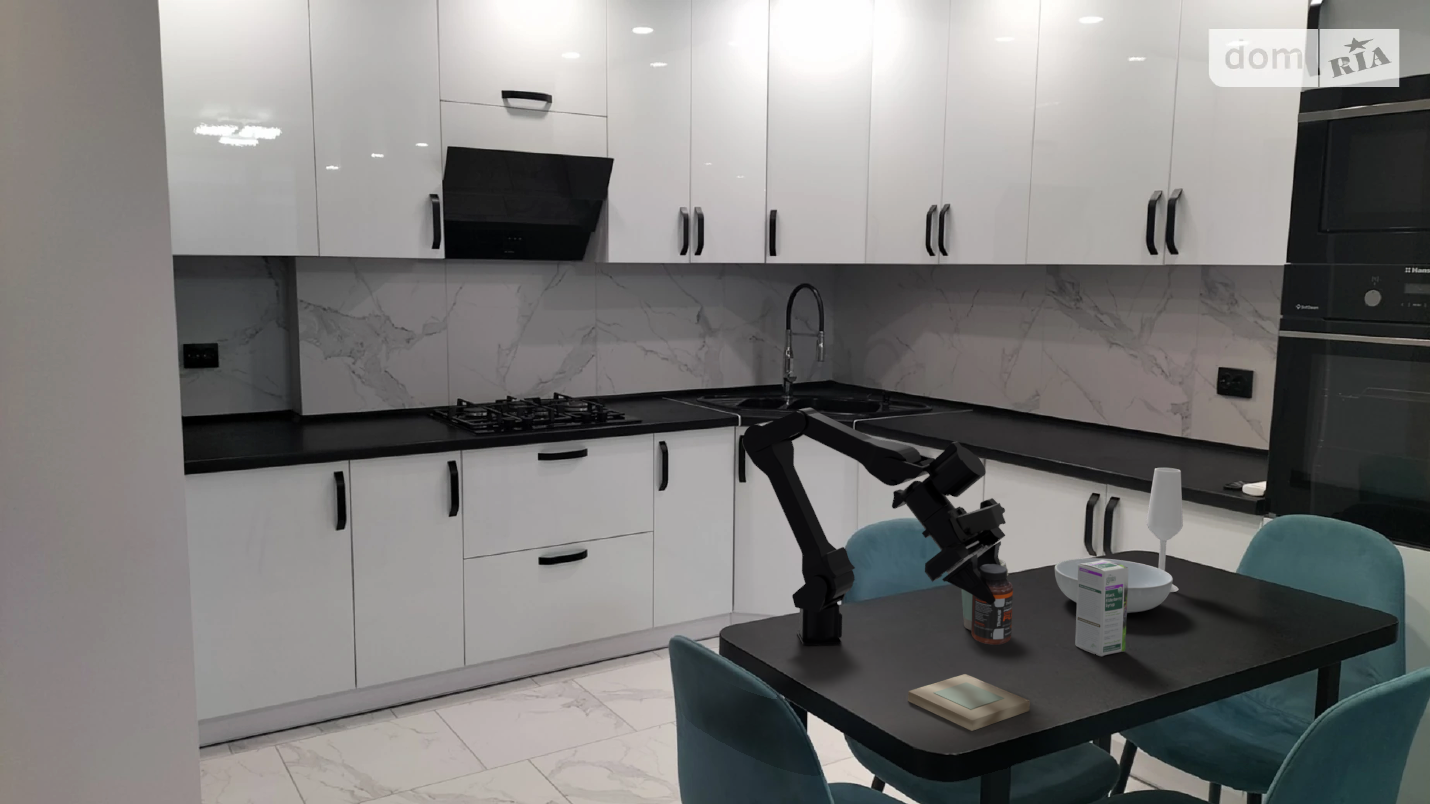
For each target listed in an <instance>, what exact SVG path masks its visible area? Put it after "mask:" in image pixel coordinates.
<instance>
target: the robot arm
mask: <svg viewBox="0 0 1430 804" xmlns="http://www.w3.org/2000/svg"><path fill="white" fill-rule="evenodd" d="M802 436H805V437H807V438H809V439H811V440H813V441H816V442H818V443H820V444H821V445H824V446H826V447H828V448H830V449H832V450H833V451H836V452H837V453H838V452H839V453H840V454H842V455H844V456H847V457H848V458H850V459H853V460H855V461H857V462H858V463H859V464H861V465H862V466H863V467H864V470H866V471H867V472H868V473H869V474H870V475H872V476H873V477H874V478H875V479H876V480H878V481H880V482H881V483H882V484H884V485H886V486H889V487H895V486H899V485H902V484H905V483H907V482H910V481H912V482H911V483H910V484H909V485H907V487H905V488H904V489H896V490H894V491H893V492H892V493H893V494H892V495H893V499H892V502H891V503H892V504H891V508H892V509H894V510H895V509H898V508H900V507H903V506H905V505H906V506H907V508H908V509H909V510H910V512H911V513H912V514H913V515H914V517H915V518H916V519H917V521H918V522H919V524H921V526H922V528H924V530H923V531H922V532H921V534H922V536H923V537H924V538H925V539H927V538H929V537H930V538H931V539H932V540H933V541H934V544H936V546H937V547H938V548H939V549H940V551H939V552H937V553H936V554H935V555H934V556H933V557H932V558H930V559H929V560H927V562H925V563H924V573H925V574H926V575H927V577H928V578H929V579H930V581H931V582H932V583H933V582H935V581H936V580H938V579H940V578H941V577H943V575H944V574H945V573H946V574H947V575H946V576H944V577H943V578H942V579H941V581H943V582H944V583H945V582H946V583H949V584H951V585H953V586H955V587H957V588H959V589H960V590H961V589H963V590H965V591H967V592H969V593H970V594H972V595H974V596H976V597H977V598H979V599H981V600H983V601H984V602H986V603H988V604H992V603H994V602H995V601H996V599H995V597H994V596H993V594H992V592H991V590H990V589H989V587H988V585H987V584H986V582H985V580H984V579H983V577H982V576H981V574H980V567H981V566H982V565H985V564H996V565H1001V564H1000V561H999V559H1000V558H999V551H1000V547H1001V546H1002V541H1000V540H1002V539H1003V538H1005V536H1006V534H1005V533H1004V531H1003V530H1002V529H1001V527H1000V526H1001V525H1004V524H1005V525H1006V520H1005V517H1004V513H1005V512H1006V509H1005V507H1003V506H1002V505H1001V503H1000V502H998V501H996V499H995V498H993V497H991V498H989V499H986V500H983V501H981V502H980V504H979V508H978V509H976V510H972V511H968V512H967V511H966V510H965V508H964V507H961V506H957V507H955V506H954V504H953V503H952V502H951V501H950V499H949V498H948V496H951V497H954V498H958V497H960V496H961V495H963V493H965V492H966V491H967V490H968V489H969V488H971V487H972V486H974V485H975V483H977V482H978V481H979V480H981V479H982V478H983V477H984V476H985V475H986V473H987V471H986V468H985V465H984V463H983V462H982V459H980V457H979V456H978V455H977V454H974V453H973V452H972V451H971V450H969V449H968V448H966V447H964V446H963V445H961V444H960V442H959V441H953V442H950V444H948V445H947V446H946V447H945V448H944V450H943V451H942V452H940V454H939V455H938V456H936V457H935V458H933V457H931V456H927V455H924V454H921V453H920V452H919V450H918V449H917V448H915V447H914V446H911V445H907V444H904V443H900V442H896V441H891V440H883V439H878V438H874V437H871V436H870V435H867V434H866V433H863V432H861V431H859V430H857V429H854V428H852V427H850V426H848V425H846V424H844V423H841V422H839V421H837V420H835V419H832V418H830V417H828V416H827V415H825V414H822V413H820V412H818V411H817V410H816V409H814V408H812V407H805V408H801V409H795V410H794V411H792V412H791V413H789V414H787V415H785V416H782V417H780V418H778V419H775V420H771V421H767V422H766V421H765V422H760V423H755V424H751V425H750V426H748V427H747V428H746V430H745V431H744V433H743V438H742V439H741V441H742V446H743V449H744V451H745V453H746V454H747V455H748V458H749V459H750V460H751V462H752V464H753V465H754V466H755V467H756V468H758V469H759V471H761V472H762V473H763V474H764V475H765V476H766V477H767V478H768V480H769V482H770V485H771V486H772V489H773V492H774V494H775V496H776V498H777V501H778V503H779V506H780V507H781V509H782V512H783V514H784V516H785V518H786V520H787V522H788V525H789V526H790V527H789V528H790V530H791V531H792V534H793V536H794V538H795V540H796V543H797V545H798V547H799V549H800V551H801V573H802V577H803V578H802V579H803V580H804V584H803V585H802V586H801V587H800V588H799V589H797V591H795V592H793V594H792V595H791V597H792V600H793V605H794V607H795V608H797V609H799V617H798V618H799V620H798V621H799V623H798V624H799V626H798V627H799V628H798V629H797V630H796V634H797V636H798V637H799V640H800V641H801V644H802V645H803V646H823V645H824V646H825V645H826V646H828V645H841V644H842V640H841V638H842V636H843V635H842V634H843V613H842V612H841V611H840V605H839V603H838V602H842V601H844V599H845V596H846V594H847V593H848V592H849V591H850V590H851V589H852V587H853V585H854V582H855V580H856V579H855V574H854V573H855V572H854V571H853V570H855V569H856V567H855V565H853V563H852V562H851V561H850V557H849V556H848V551H847V549H846V548H845V547H844V546H842V547H839V548H836V547H835V546H834V545H832V544H831V543H830V542H829V540H828V538H827V536H826V533H825V531H824V529H823V528H822V524H821V522H820V521H819V519H818V516H817V514H816V512H815V510H814V507H813V505H812V503H811V501H810V498H809V496H808V493H807V492H806V489H805V488H804V486H803V485H804V484H803V483H802V481H801V479H800V476H799V475H798V472H797V470H796V466H795V465H794V464H795V461H794V460H795V448H794V444H793V441H795V440H798V439H800V438H801V437H802ZM925 475H928V476H927V477H926V478H925V479H924V480H922V481H920V480H915V479H917V478H920V477H922V476H925ZM913 480H914V481H913Z"/></svg>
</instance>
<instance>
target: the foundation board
mask: <svg viewBox="0 0 1430 804" xmlns="http://www.w3.org/2000/svg"><path fill="white" fill-rule="evenodd" d="M907 694H908V695H907V699H908V700H907V702H909V703H911V704H913V705H916V706H918V707H919V708H922V709H924V710H926V711H929V712H931V713H933V714H935V715H937V716H938V717H941V718H943V719H945V720H947V721H950V722H952V723H954V724H956V725H958V726H960V727H962V728H965V729H966V730H969V731H971V732H973V731H975V730H979V729H981V728H984V727H988V726H990V725H992V724H996V723H998V722H1000V721H1004V720H1007V719H1010V718H1012V717H1016V716H1018V715H1021V714H1024V713H1027V712H1030V704H1031V703H1030V702H1031V700H1030V699H1026V698H1024V697H1023V696H1019V695H1017V694H1014V693H1011V692H1009V691H1007V690H1004V689H1002V688H1000V687H997V686H996V685H993V684H991V683H988V682H986V681H983V680H981V679H978V678H976V677H974V676H971V675H969V674H966V673H964V674H960V675H958V676H953V677H950V678H947V679H944V680H941V681H938V682H935V683H932V684H928V685H924V686H921V687H918V688H914V689H912V690H908V692H907Z"/></svg>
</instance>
